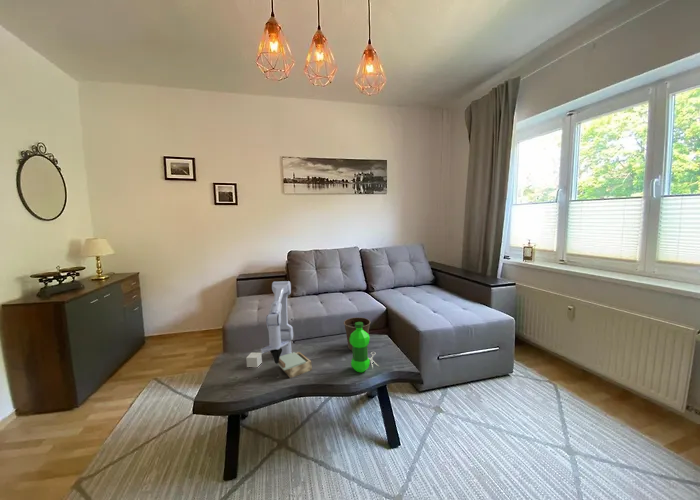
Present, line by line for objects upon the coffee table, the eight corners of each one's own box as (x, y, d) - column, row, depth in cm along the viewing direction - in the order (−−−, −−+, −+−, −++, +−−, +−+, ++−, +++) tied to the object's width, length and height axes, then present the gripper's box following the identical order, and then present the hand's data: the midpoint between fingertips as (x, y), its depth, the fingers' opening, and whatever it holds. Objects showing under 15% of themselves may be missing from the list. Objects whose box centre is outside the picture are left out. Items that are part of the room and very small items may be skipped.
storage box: (290, 378, 144) (289, 368, 144) (279, 367, 156) (279, 358, 155) (311, 370, 151) (311, 361, 151) (300, 360, 163) (299, 351, 162)
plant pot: (368, 354, 167) (367, 327, 165) (341, 352, 170) (340, 326, 169) (373, 342, 182) (372, 317, 181) (348, 341, 186) (347, 316, 184)
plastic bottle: (355, 363, 157) (353, 318, 154) (373, 367, 152) (372, 321, 149) (347, 372, 148) (345, 325, 145) (366, 376, 143) (364, 328, 140)
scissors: (373, 350, 171) (386, 366, 152) (373, 351, 171) (386, 367, 152) (356, 352, 169) (367, 369, 149) (356, 354, 169) (367, 370, 149)
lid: (284, 370, 142) (283, 365, 142) (273, 359, 153) (273, 354, 153) (305, 362, 149) (305, 357, 149) (294, 353, 160) (294, 348, 160)
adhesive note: (262, 362, 161) (261, 352, 161) (257, 368, 156) (257, 357, 155) (251, 362, 162) (251, 352, 161) (247, 368, 156) (246, 357, 156)
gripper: (263, 343, 138) (265, 370, 140) (291, 335, 146) (293, 361, 148) (258, 338, 144) (260, 364, 145) (285, 331, 152) (287, 356, 154)
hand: (276, 362), depth 147 cm, fingers closed
